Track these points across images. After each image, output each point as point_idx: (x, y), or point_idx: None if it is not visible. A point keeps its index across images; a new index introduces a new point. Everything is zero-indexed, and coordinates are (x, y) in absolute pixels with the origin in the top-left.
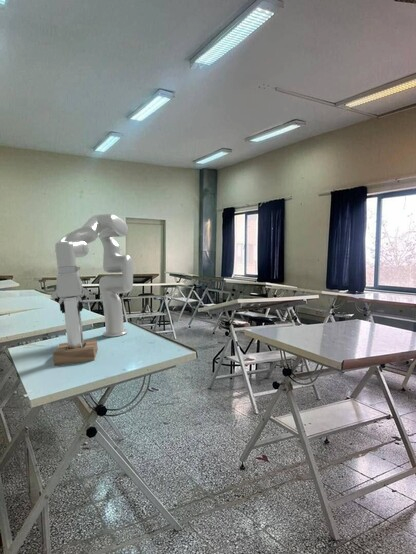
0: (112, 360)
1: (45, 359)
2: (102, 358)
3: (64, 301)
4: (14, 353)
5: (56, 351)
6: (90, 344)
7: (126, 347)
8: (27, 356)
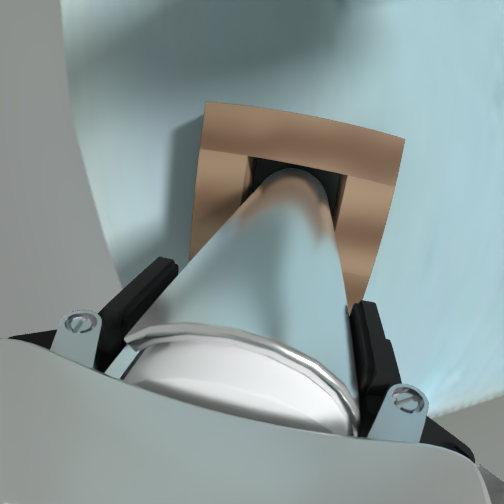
0: (402, 328)
1: (162, 149)
2: (382, 285)
3: None
4: (64, 15)
5: (198, 251)
6: (360, 233)
7: (493, 196)
8: (98, 68)
